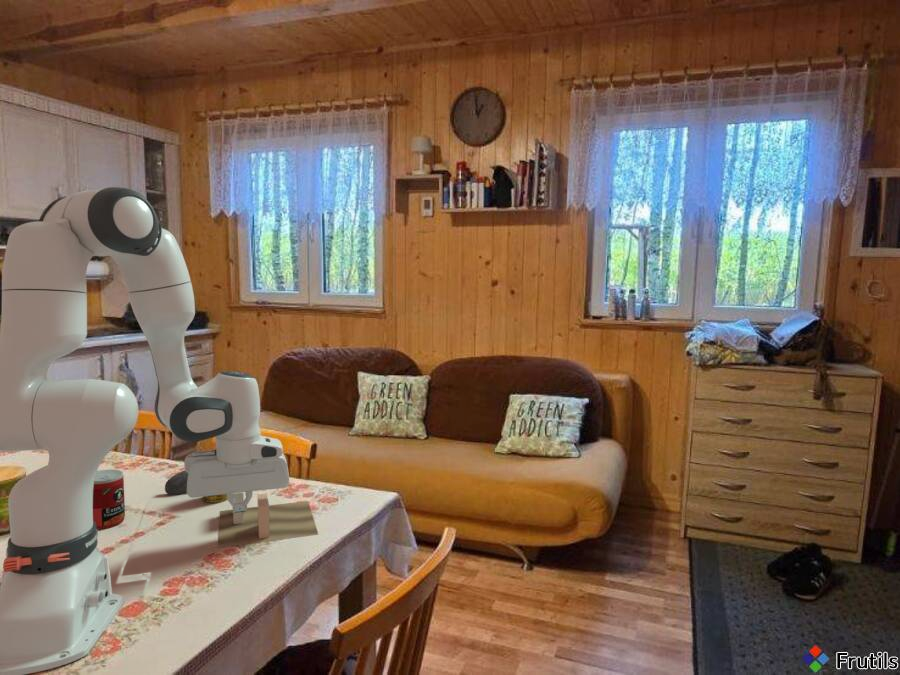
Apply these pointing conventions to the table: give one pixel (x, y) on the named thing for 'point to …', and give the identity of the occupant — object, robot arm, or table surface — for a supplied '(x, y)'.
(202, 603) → the table surface
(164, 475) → the table surface
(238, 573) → the table surface
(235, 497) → the cream tile
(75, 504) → the robot arm
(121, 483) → the canned food
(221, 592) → the table surface
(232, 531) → the walnut board
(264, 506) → the terracotta tile
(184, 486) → the perforated stone tool
